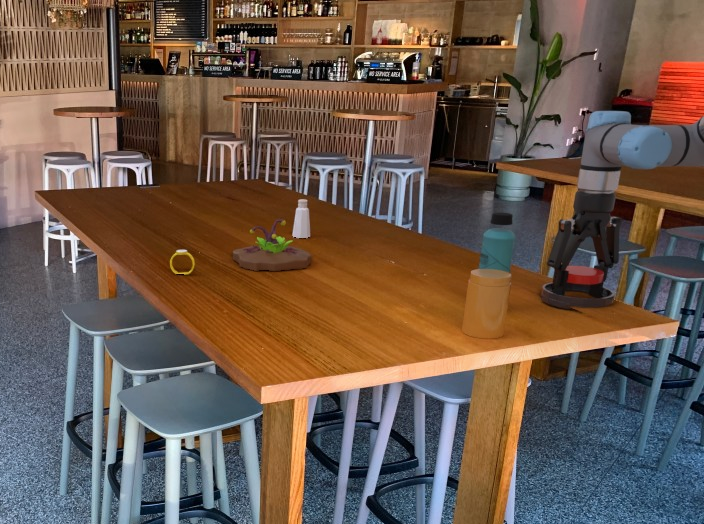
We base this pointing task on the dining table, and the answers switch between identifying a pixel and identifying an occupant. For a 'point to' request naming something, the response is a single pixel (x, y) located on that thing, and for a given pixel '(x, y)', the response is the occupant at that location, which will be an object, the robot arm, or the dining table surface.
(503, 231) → the beverage bottle
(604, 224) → the robot arm
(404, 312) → the dining table surface
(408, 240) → the dining table surface
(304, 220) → the pepper shaker
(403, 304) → the dining table surface
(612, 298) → the dark grey ring
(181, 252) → the gold ring with gem
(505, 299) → the jar
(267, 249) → the plant
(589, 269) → the cap
